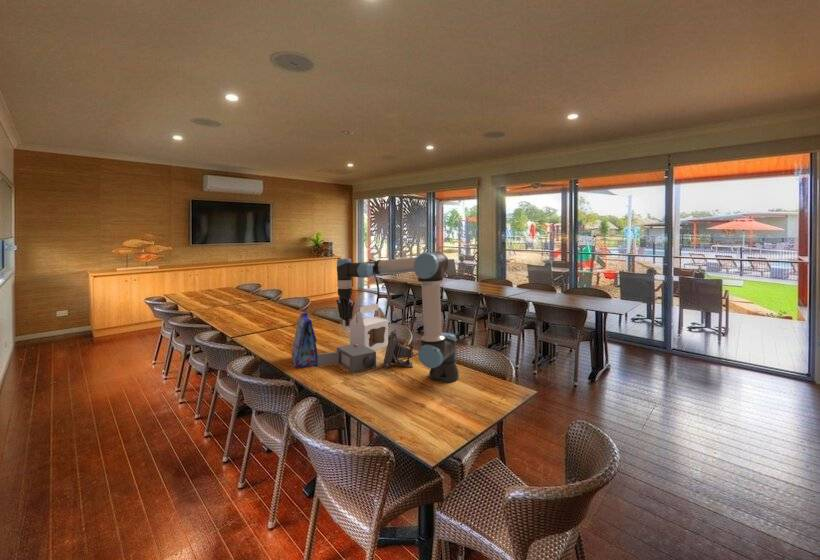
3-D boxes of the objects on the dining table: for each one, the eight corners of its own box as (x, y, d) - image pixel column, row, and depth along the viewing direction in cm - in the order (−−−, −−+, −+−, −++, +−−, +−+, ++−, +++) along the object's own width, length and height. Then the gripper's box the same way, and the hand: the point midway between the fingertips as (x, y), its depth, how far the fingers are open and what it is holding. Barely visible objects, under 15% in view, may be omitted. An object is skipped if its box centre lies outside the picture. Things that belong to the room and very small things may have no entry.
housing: (378, 368, 211) (377, 351, 210) (354, 373, 203) (354, 355, 202) (359, 358, 229) (358, 341, 228) (336, 362, 221) (336, 345, 220)
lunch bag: (319, 366, 215) (318, 315, 211) (294, 369, 210) (292, 316, 206) (314, 354, 235) (313, 307, 231) (291, 357, 230) (289, 309, 226)
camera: (410, 375, 212) (420, 340, 210) (381, 367, 211) (390, 332, 209) (410, 368, 223) (419, 335, 221) (382, 360, 222) (391, 327, 220)
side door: (318, 366, 210) (317, 354, 209) (317, 365, 212) (316, 353, 211) (340, 363, 216) (340, 351, 215) (339, 362, 217) (339, 350, 217)
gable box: (373, 342, 262) (373, 301, 259) (388, 345, 254) (388, 303, 251) (349, 349, 245) (349, 306, 242) (364, 353, 237) (364, 308, 234)
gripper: (358, 288, 203) (359, 332, 205) (343, 286, 211) (344, 328, 214) (346, 289, 197) (347, 334, 200) (331, 287, 206) (333, 330, 209)
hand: (346, 331), depth 207 cm, fingers closed
